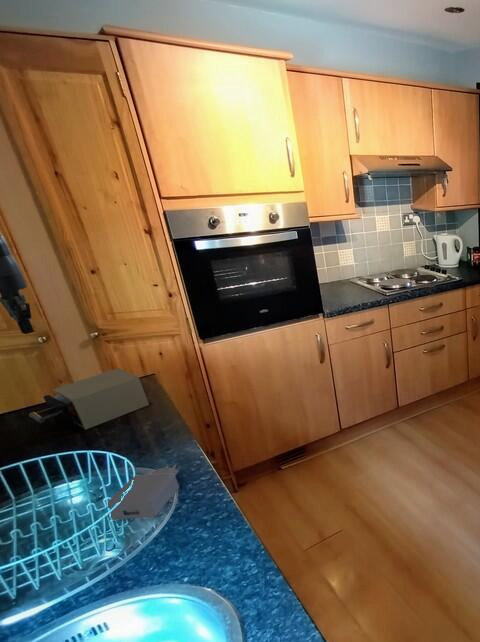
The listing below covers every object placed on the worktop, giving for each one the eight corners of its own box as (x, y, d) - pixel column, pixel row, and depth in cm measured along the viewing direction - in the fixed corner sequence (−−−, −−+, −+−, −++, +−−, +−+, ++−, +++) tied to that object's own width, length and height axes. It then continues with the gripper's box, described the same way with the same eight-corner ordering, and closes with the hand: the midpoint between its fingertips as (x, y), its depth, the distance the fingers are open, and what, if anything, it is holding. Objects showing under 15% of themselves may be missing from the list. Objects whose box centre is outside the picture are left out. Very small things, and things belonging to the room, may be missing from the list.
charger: (194, 472, 110) (157, 517, 97) (154, 475, 109) (110, 520, 96) (189, 456, 108) (150, 500, 95) (148, 459, 107) (102, 503, 94)
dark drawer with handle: (49, 439, 121) (37, 414, 118) (32, 428, 126) (20, 403, 123) (133, 407, 136) (124, 384, 133) (114, 398, 142) (105, 376, 138)
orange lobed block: (89, 404, 132) (93, 406, 131) (77, 415, 130) (81, 418, 129) (61, 389, 126) (65, 392, 125) (48, 401, 124) (52, 403, 123)
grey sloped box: (85, 430, 127) (72, 400, 123) (66, 418, 133) (52, 389, 129) (149, 405, 140) (138, 377, 136) (128, 395, 145) (118, 368, 141)
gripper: (-29, 272, 120) (1, 332, 127) (-11, 278, 115) (19, 341, 121) (10, 266, 126) (36, 324, 133) (29, 272, 121) (55, 332, 127)
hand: (28, 332), depth 127 cm, fingers closed
